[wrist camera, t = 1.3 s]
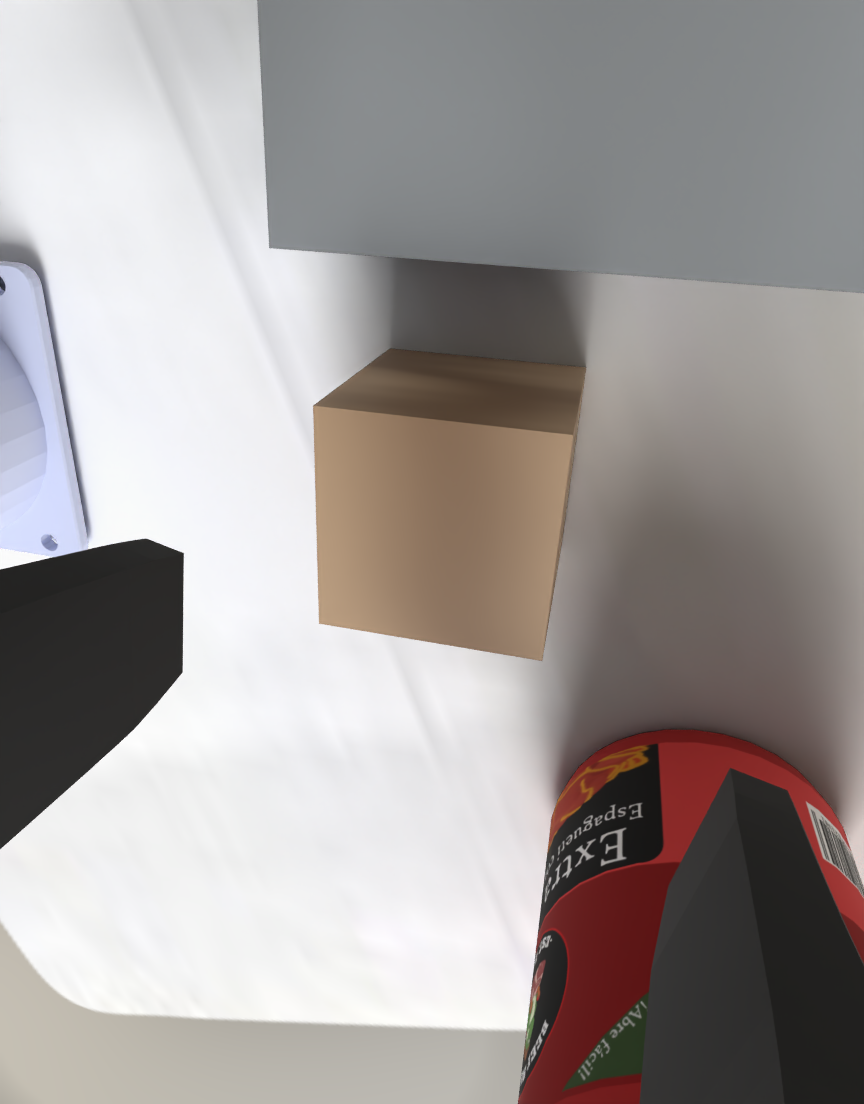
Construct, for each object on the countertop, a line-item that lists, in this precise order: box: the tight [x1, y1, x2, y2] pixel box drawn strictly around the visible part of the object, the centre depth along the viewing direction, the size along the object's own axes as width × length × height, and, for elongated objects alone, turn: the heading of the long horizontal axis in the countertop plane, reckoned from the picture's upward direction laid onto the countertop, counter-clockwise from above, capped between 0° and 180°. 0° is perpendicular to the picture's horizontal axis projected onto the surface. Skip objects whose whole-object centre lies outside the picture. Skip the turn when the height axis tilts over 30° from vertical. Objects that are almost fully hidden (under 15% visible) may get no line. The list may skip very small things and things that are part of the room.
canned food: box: [518, 730, 864, 1104], centre depth 17 cm, size 8×8×11 cm
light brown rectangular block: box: [313, 349, 586, 661], centre depth 16 cm, size 4×4×5 cm
